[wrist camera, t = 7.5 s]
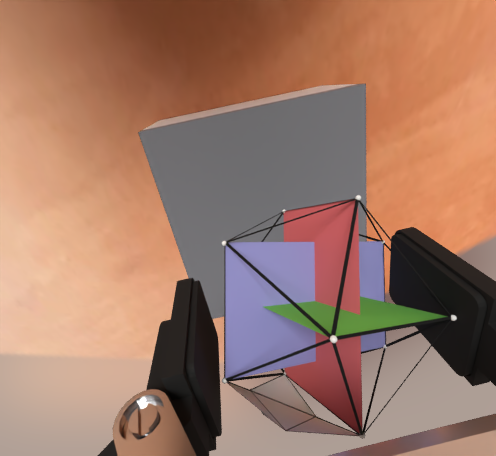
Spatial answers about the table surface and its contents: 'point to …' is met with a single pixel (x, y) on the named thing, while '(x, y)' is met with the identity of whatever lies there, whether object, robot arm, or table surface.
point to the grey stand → (255, 170)
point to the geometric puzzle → (311, 315)
